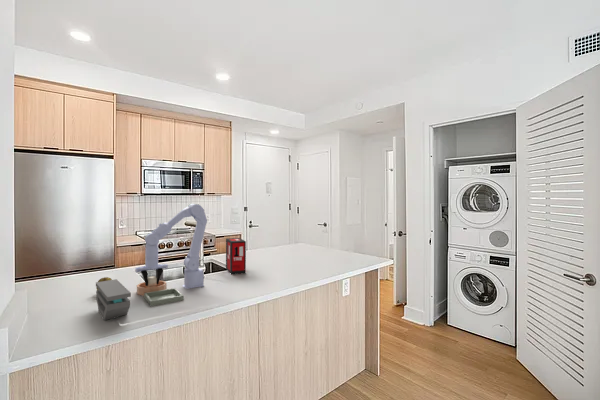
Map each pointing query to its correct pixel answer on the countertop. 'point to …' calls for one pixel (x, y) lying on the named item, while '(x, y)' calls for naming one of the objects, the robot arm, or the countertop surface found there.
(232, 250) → the cleaning product box
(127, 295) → the grey storage case
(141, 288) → the bowl
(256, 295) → the countertop surface
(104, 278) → the potato
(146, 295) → the parts tray
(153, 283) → the cream rounded capsule
